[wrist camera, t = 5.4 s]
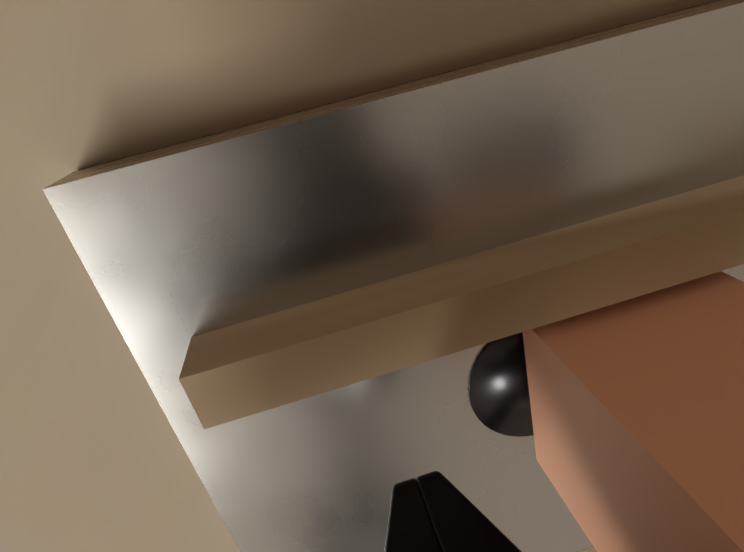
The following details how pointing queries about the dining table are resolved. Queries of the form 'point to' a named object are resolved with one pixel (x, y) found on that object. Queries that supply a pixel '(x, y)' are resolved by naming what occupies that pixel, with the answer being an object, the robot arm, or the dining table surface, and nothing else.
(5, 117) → the dining table surface
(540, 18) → the dining table surface
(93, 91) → the dining table surface
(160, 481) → the dining table surface
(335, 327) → the bar
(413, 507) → the robot arm
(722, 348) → the slide leg
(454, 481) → the flange plate
